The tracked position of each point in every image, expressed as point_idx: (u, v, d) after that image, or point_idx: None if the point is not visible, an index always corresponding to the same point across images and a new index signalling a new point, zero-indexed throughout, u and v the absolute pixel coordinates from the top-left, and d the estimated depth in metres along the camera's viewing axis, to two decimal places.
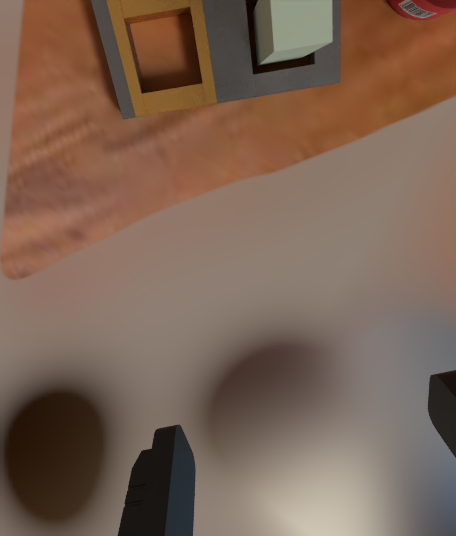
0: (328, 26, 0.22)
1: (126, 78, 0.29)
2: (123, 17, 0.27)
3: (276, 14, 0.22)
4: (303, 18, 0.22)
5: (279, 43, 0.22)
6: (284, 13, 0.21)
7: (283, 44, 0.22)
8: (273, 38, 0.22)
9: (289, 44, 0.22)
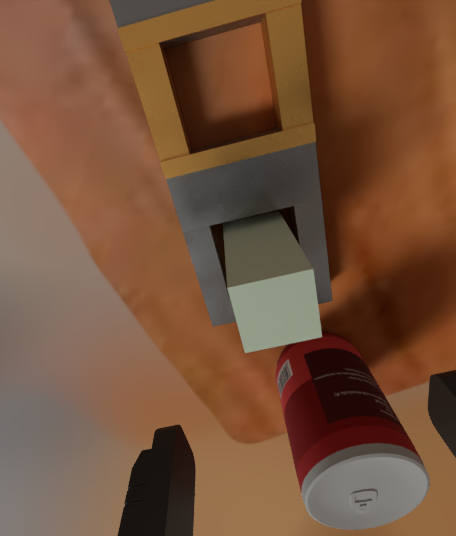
0: (261, 345, 0.17)
1: (177, 11, 0.16)
2: (267, 13, 0.16)
3: (271, 284, 0.15)
4: (267, 317, 0.16)
5: (237, 293, 0.15)
6: (272, 293, 0.15)
7: (237, 298, 0.15)
8: (243, 284, 0.15)
9: (237, 305, 0.16)
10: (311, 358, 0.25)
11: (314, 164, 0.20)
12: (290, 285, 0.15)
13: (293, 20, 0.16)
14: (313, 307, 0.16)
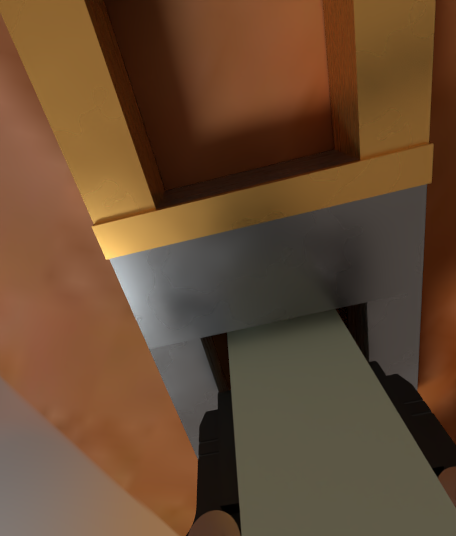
0: None
1: None
2: None
3: None
4: None
5: None
6: None
7: None
8: None
9: None
10: None
11: (417, 227, 0.09)
12: None
13: None
14: None
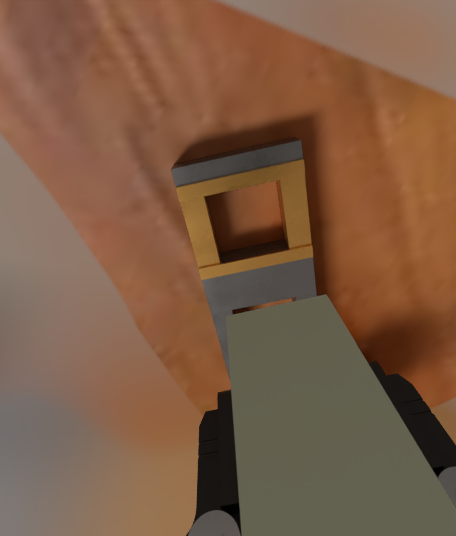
0: None
1: (218, 178, 0.23)
2: (281, 178, 0.23)
3: None
4: None
5: None
6: None
7: None
8: None
9: None
10: None
11: (311, 270, 0.26)
12: None
13: (299, 183, 0.23)
14: None
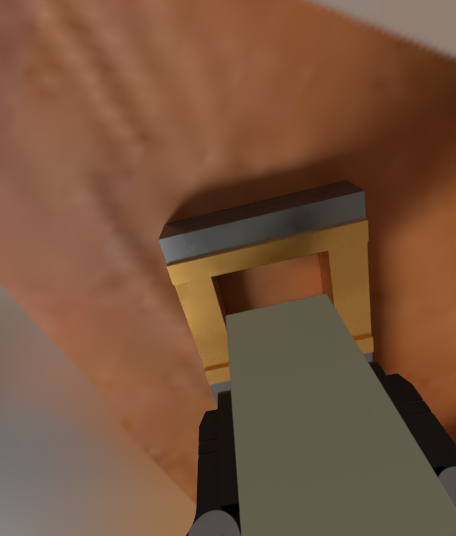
0: None
1: (233, 250, 0.15)
2: (329, 246, 0.15)
3: None
4: None
5: None
6: None
7: None
8: None
9: None
10: None
11: None
12: None
13: (357, 253, 0.15)
14: None
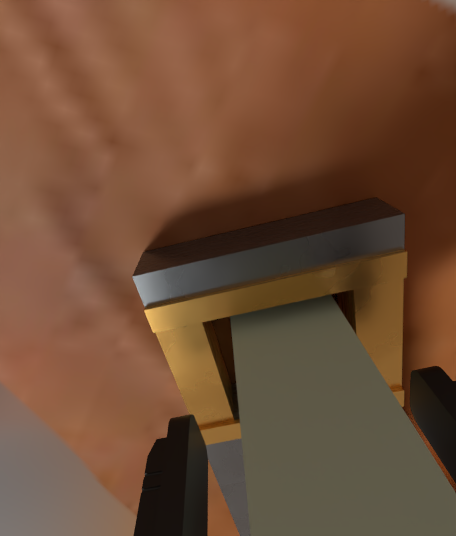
0: None
1: (230, 290, 0.11)
2: (355, 283, 0.12)
3: None
4: None
5: None
6: None
7: None
8: None
9: None
10: None
11: None
12: None
13: (390, 292, 0.12)
14: None
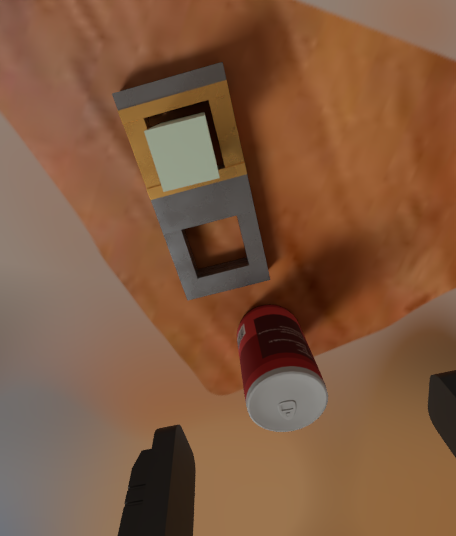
0: (174, 185, 0.23)
1: (154, 100, 0.26)
2: (209, 99, 0.27)
3: (176, 128, 0.21)
4: (176, 158, 0.22)
5: (152, 136, 0.21)
6: (178, 137, 0.21)
7: (152, 140, 0.21)
8: (155, 128, 0.21)
9: (153, 147, 0.21)
10: (258, 321, 0.35)
11: (247, 188, 0.30)
12: (189, 129, 0.21)
13: (225, 103, 0.27)
14: (209, 150, 0.22)
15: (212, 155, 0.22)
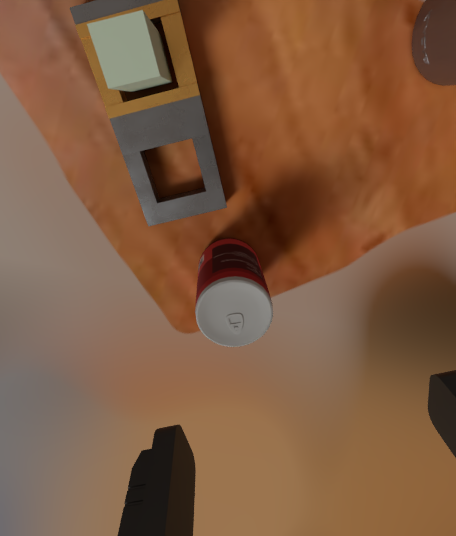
0: (118, 81, 0.24)
1: (109, 15, 0.28)
2: (161, 16, 0.28)
3: (116, 22, 0.23)
4: (118, 53, 0.24)
5: (94, 29, 0.23)
6: (119, 31, 0.23)
7: (95, 34, 0.23)
8: (98, 22, 0.23)
9: (96, 41, 0.23)
10: (215, 249, 0.37)
11: (201, 110, 0.32)
12: (129, 24, 0.23)
13: (177, 21, 0.28)
14: (149, 46, 0.23)
15: (152, 52, 0.24)
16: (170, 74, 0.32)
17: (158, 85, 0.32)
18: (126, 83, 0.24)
